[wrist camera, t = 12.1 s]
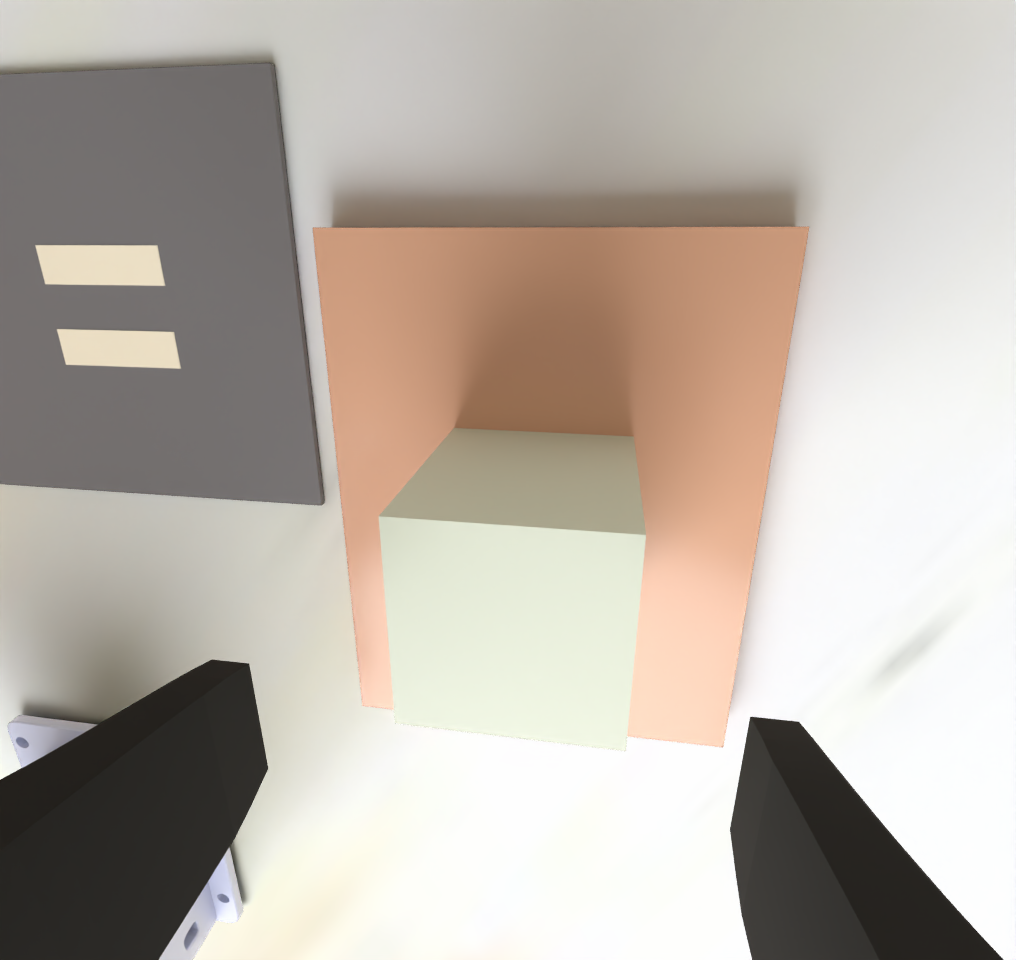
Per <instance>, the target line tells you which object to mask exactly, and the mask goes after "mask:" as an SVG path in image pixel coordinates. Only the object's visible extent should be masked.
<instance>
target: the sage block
mask: <svg viewBox="0 0 1016 960" xmlns="http://www.w3.org/2000/svg"><path fill="white" fill-rule="evenodd" d="M379 529H380V541H381V554H382V566H383V579H384V592H385V604H386V617H387V629H388V642H389V655H390V667H391V680H392V693H393V705H394V718H395V724H402V725H411V726H419V727H427V728H436V729H444V730H452V731H461V732H469V733H478V734H486V735H494V736H503V737H511V738H519V739H528V740H536V741H545V742H553V743H561V744H570V745H578V746H586V747H595V748H603V749H611V750H620V751H626V744H627V733H628V722H629V712H630V701H631V691H632V680H633V669H634V659H635V648H636V637H637V627H638V616H639V606H640V595H641V584H642V574H643V563H644V552H645V542H646V530H645V522H644V514H643V506H642V498H641V490H640V482H639V474H638V466H637V458H636V450H635V443H634V436H613V435H592V434H571V433H550V432H529V431H508V430H487V429H466V428H453V430H452V431H451V432H450V433H449V434H448V435H447V437H446V438H445V439H444V440H443V441H442V442H441V444H440V445H439V446H438V447H437V448H436V449H435V451H434V452H433V453H432V454H431V455H430V457H429V458H428V459H427V460H426V461H425V462H424V464H423V465H422V466H421V467H420V468H419V469H418V471H417V472H416V473H415V474H414V475H413V476H412V478H411V479H410V480H409V481H408V482H407V484H406V485H405V486H404V487H403V488H402V489H401V491H400V492H399V493H398V494H397V495H396V496H395V498H394V499H393V500H392V501H391V502H390V503H389V505H388V506H387V507H386V508H385V509H384V510H383V512H382V513H381V514H380V515H379Z"/></svg>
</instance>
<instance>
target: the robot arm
mask: <svg viewBox="0 0 1016 960" xmlns="http://www.w3.org/2000/svg"><path fill="white" fill-rule="evenodd" d="M8 732H9V735H10V737H11V740H12V743H13V745H14V748H15V751H16V753H17V756H18V759H19V762H20V764H21V767H22V768H21V769H19V770H17V771H16V772H14V773H12V774H10V775H8V776H6V777H5V778H3V779H1V780H0V960H193V959H194V957H195V956H196V954H197V952H198V951H199V949H200V947H201V945H202V944H203V942H204V940H205V939H206V937H207V935H208V933H209V932H210V930H211V928H212V927H213V925H214V923H215V921H216V920H217V921H223V922H229V923H233V922H236V921H238V920H239V918H240V916H241V915H242V913H243V905H242V900H241V896H240V891H239V887H238V883H237V878H236V874H235V869H234V865H233V860H232V856H231V851H230V845H231V843H232V842H233V840H234V839H235V837H236V835H237V833H238V831H239V829H240V827H241V825H242V823H243V821H244V819H245V817H246V815H247V813H248V811H249V809H250V807H251V805H252V802H253V800H254V798H255V796H256V794H257V792H258V789H259V787H260V785H261V783H262V781H263V779H264V776H265V774H266V772H267V770H268V765H267V759H266V754H265V748H264V743H263V738H262V732H261V727H260V721H259V716H258V710H257V705H256V699H255V694H254V688H253V683H252V678H251V672H250V667H249V664H248V663H238V662H229V661H219V660H210V661H208V662H206V663H204V664H203V665H201V666H199V667H197V668H195V669H193V670H191V671H189V672H187V673H186V674H184V675H182V676H180V677H179V678H177V679H175V680H173V681H171V682H170V683H168V684H166V685H165V686H163V687H161V688H159V689H158V690H156V691H154V692H153V693H151V694H149V695H147V696H146V697H144V698H142V699H141V700H139V701H137V702H136V703H134V704H132V705H130V706H129V707H127V708H125V709H124V710H122V711H120V712H119V713H117V714H115V715H113V716H112V717H110V718H108V719H107V720H105V721H103V722H101V723H100V724H98V725H97V724H89V723H82V722H74V721H66V720H58V719H50V718H42V717H35V716H27V715H19V716H17V717H16V718H14V719H13V720H12V721H11V722H9V724H8ZM730 832H731V840H732V848H733V855H734V863H735V871H736V878H737V885H738V892H739V899H740V906H741V913H742V918H743V922H744V926H745V931H746V935H747V939H748V943H749V948H750V952H751V956H752V960H1003V959H1002V958H1001V957H1000V956H999V954H998V953H997V952H996V951H995V950H994V949H993V948H992V947H991V946H990V945H989V944H988V943H987V942H986V941H985V940H984V938H983V937H982V936H981V935H980V934H979V933H978V932H977V931H976V930H975V929H974V928H973V927H972V925H971V924H970V923H969V922H968V921H967V920H966V919H965V918H964V917H963V915H962V914H961V913H960V912H959V911H958V910H957V909H956V908H955V907H954V906H953V904H952V903H951V902H950V901H949V900H948V899H947V898H946V897H945V895H944V894H943V893H942V892H941V891H940V890H939V889H938V887H937V886H936V885H935V884H934V883H933V882H932V881H931V879H930V878H929V877H928V876H927V875H926V874H925V873H924V871H923V870H922V869H921V868H920V867H919V866H918V864H917V863H916V862H915V861H914V860H913V859H912V858H911V856H910V855H909V854H908V853H907V852H906V851H905V850H904V848H903V847H902V846H901V845H900V844H899V843H898V842H897V840H896V839H895V838H894V837H893V836H892V834H891V833H890V832H889V831H888V830H887V828H886V827H885V826H884V825H883V824H882V823H881V821H880V820H879V819H878V818H877V817H876V815H875V814H874V813H873V812H872V811H871V809H870V808H869V807H868V806H867V804H866V803H865V802H864V801H863V800H862V798H861V797H860V796H859V795H858V794H857V792H856V791H855V790H854V789H853V787H852V786H851V785H850V784H849V783H848V781H847V780H846V779H845V778H844V776H843V775H842V774H841V773H840V771H839V770H838V769H837V768H836V767H835V765H834V764H833V763H832V762H831V760H830V759H829V758H828V757H827V755H826V754H825V753H824V752H823V750H822V749H821V748H820V747H819V745H818V744H817V743H816V742H815V741H814V739H813V738H812V737H811V736H810V734H809V733H808V732H807V731H806V730H805V729H804V727H803V726H802V725H801V724H800V723H799V722H795V721H786V720H776V719H767V718H757V717H750V722H749V727H748V733H747V738H746V744H745V749H744V755H743V761H742V766H741V772H740V777H739V783H738V788H737V794H736V800H735V805H734V811H733V816H732V822H731V827H730Z"/></svg>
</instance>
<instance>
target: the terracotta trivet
mask: <svg viewBox="0 0 1016 960" xmlns="http://www.w3.org/2000/svg"><path fill="white" fill-rule="evenodd" d="M808 231H809V227H399V228H313V236H314V246H315V255H316V265H317V275H318V284H319V294H320V303H321V313H322V323H323V332H324V342H325V351H326V361H327V371H328V380H329V390H330V399H331V409H332V419H333V428H334V438H335V447H336V457H337V467H338V476H339V486H340V496H341V505H342V515H343V524H344V534H345V544H346V553H347V563H348V572H349V582H350V592H351V601H352V611H353V620H354V630H355V640H356V649H357V659H358V668H359V678H360V688H361V697H362V706H367V707H376V708H385V709H393V710H394V705H393V693H392V680H391V667H390V655H389V642H388V629H387V617H386V604H385V592H384V579H383V566H382V554H381V541H380V529H379V515H380V514H381V513H382V512H383V510H384V509H385V508H386V507H387V506H388V505H389V503H390V502H391V501H392V500H393V499H394V498H395V496H396V495H397V494H398V493H399V492H400V491H401V489H402V488H403V487H404V486H405V485H406V484H407V482H408V481H409V480H410V479H411V478H412V476H413V475H414V474H415V473H416V472H417V471H418V469H419V468H420V467H421V466H422V465H423V464H424V462H425V461H426V460H427V459H428V458H429V457H430V455H431V454H432V453H433V452H434V451H435V449H436V448H437V447H438V446H439V445H440V444H441V442H442V441H443V440H444V439H445V438H446V437H447V435H448V434H449V433H450V432H451V431H452V430H453V428H466V429H487V430H508V431H529V432H550V433H571V434H592V435H613V436H634V443H635V450H636V458H637V466H638V474H639V482H640V490H641V498H642V506H643V514H644V522H645V530H646V542H645V552H644V563H643V574H642V584H641V595H640V606H639V616H638V627H637V637H636V648H635V659H634V669H633V680H632V691H631V701H630V712H629V722H628V733H627V736H628V737H637V738H646V739H655V740H663V741H672V742H681V743H689V744H698V745H707V746H715V747H723V746H724V739H725V733H726V727H727V721H728V715H729V709H730V703H731V697H732V691H733V685H734V679H735V673H736V667H737V661H738V655H739V649H740V643H741V637H742V631H743V625H744V619H745V612H746V606H747V600H748V594H749V588H750V582H751V576H752V570H753V564H754V558H755V552H756V546H757V540H758V534H759V528H760V522H761V516H762V510H763V504H764V498H765V492H766V485H767V479H768V473H769V467H770V461H771V455H772V449H773V443H774V437H775V431H776V425H777V419H778V413H779V407H780V401H781V395H782V389H783V383H784V377H785V371H786V365H787V358H788V352H789V346H790V340H791V334H792V328H793V322H794V316H795V310H796V304H797V298H798V292H799V286H800V280H801V274H802V268H803V262H804V256H805V250H806V244H807V238H808Z"/></svg>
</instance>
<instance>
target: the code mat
mask: <svg viewBox="0 0 1016 960" xmlns="http://www.w3.org/2000/svg"><path fill="white" fill-rule="evenodd" d="M0 484H7V485H22V486H37V487H52V488H67V489H82V490H97V491H112V492H127V493H142V494H157V495H172V496H187V497H202V498H217V499H232V500H247V501H262V502H277V503H292V504H307V505H323V504H324V495H323V486H322V477H321V468H320V460H319V451H318V442H317V434H316V425H315V416H314V408H313V399H312V390H311V381H310V373H309V364H308V355H307V347H306V338H305V329H304V320H303V312H302V303H301V294H300V286H299V277H298V268H297V259H296V251H295V242H294V233H293V225H292V216H291V207H290V199H289V190H288V181H287V172H286V164H285V155H284V146H283V138H282V129H281V120H280V111H279V103H278V94H277V85H276V77H275V68H274V65H273V64H271V63H254V64H231V65H208V66H185V67H161V68H138V69H115V70H92V71H69V72H45V73H22V74H0Z"/></svg>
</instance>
